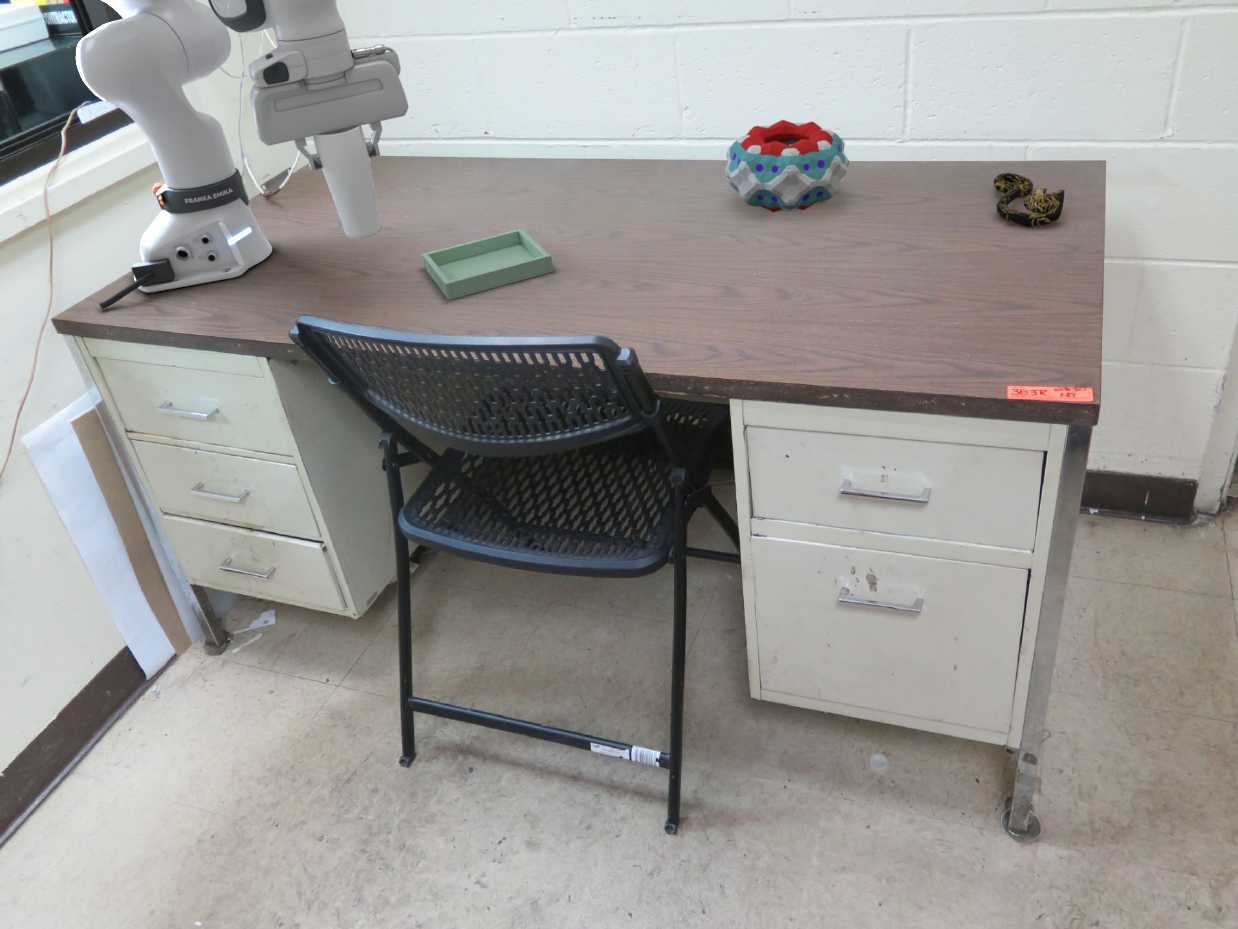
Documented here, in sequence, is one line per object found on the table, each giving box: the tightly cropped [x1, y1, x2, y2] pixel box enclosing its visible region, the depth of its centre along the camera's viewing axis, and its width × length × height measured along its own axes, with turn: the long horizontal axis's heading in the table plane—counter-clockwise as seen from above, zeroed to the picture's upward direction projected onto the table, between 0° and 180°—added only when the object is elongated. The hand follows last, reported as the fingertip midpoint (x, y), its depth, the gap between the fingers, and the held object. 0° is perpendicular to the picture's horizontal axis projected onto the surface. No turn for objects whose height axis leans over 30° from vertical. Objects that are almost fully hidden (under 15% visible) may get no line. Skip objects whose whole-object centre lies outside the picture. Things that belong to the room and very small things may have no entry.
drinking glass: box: [312, 125, 383, 240], centre depth 137 cm, size 7×7×15 cm
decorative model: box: [724, 119, 850, 213], centre depth 160 cm, size 19×14×20 cm
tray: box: [421, 228, 554, 301], centre depth 151 cm, size 17×14×3 cm
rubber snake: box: [993, 172, 1065, 228], centre depth 150 cm, size 18×5×10 cm
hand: (345, 162), depth 136 cm, fingers closed on drinking glass, 7 cm apart
